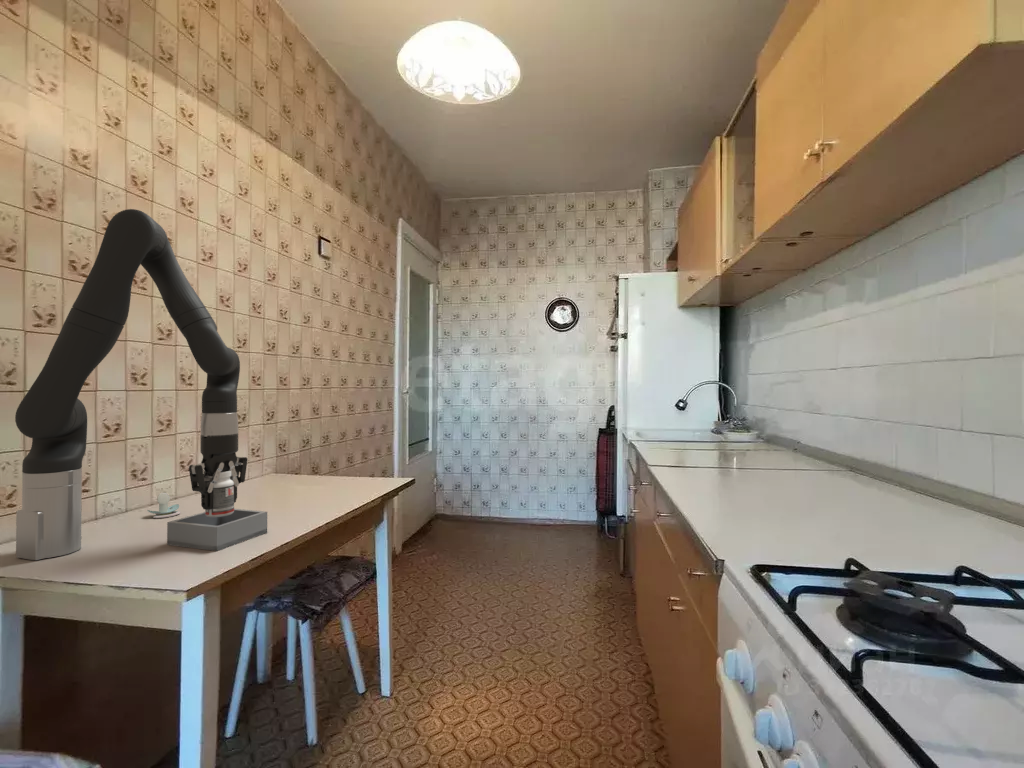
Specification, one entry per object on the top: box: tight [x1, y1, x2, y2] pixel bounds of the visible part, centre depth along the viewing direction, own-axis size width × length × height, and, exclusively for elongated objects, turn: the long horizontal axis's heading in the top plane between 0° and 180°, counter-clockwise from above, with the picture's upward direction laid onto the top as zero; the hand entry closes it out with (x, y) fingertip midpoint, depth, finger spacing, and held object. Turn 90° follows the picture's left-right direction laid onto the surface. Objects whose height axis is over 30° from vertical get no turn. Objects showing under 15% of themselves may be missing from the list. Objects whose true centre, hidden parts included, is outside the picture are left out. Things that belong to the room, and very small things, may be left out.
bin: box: [166, 508, 268, 552], centre depth 115 cm, size 14×14×5 cm
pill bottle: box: [204, 471, 235, 517], centre depth 115 cm, size 6×6×10 cm
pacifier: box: [147, 492, 181, 519], centre depth 135 cm, size 7×6×6 cm
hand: (219, 505), depth 115 cm, fingers closed on pill bottle, 5 cm apart
